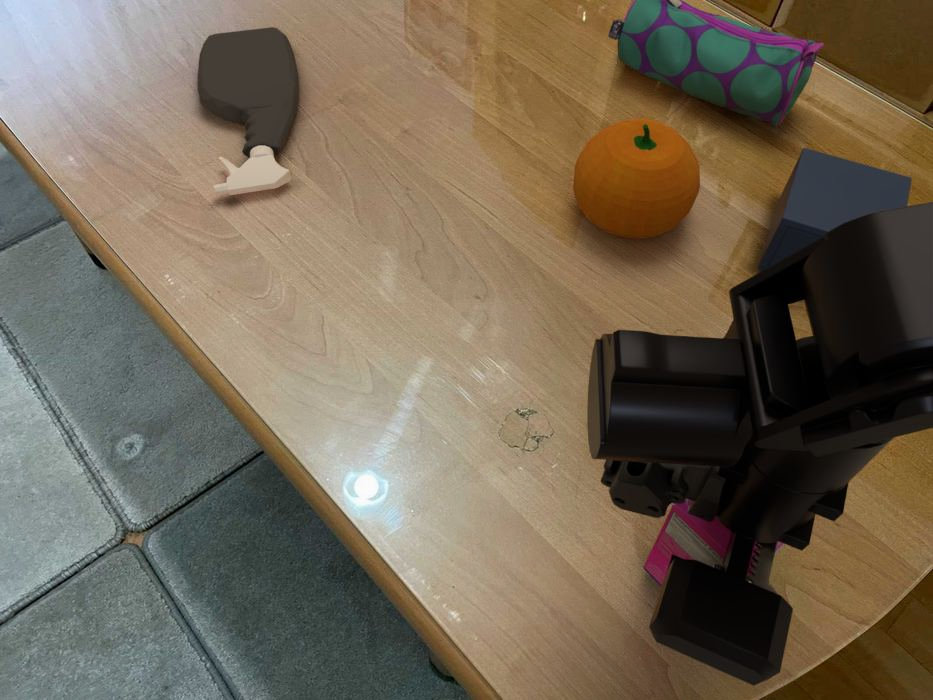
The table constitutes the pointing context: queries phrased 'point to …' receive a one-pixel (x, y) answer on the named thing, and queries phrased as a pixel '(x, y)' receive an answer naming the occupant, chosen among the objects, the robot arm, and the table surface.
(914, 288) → the robot arm
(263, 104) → the spray bottle
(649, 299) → the table surface
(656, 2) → the pencil case
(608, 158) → the fruit
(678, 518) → the supplement box
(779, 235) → the dark blue square block
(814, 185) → the lid
